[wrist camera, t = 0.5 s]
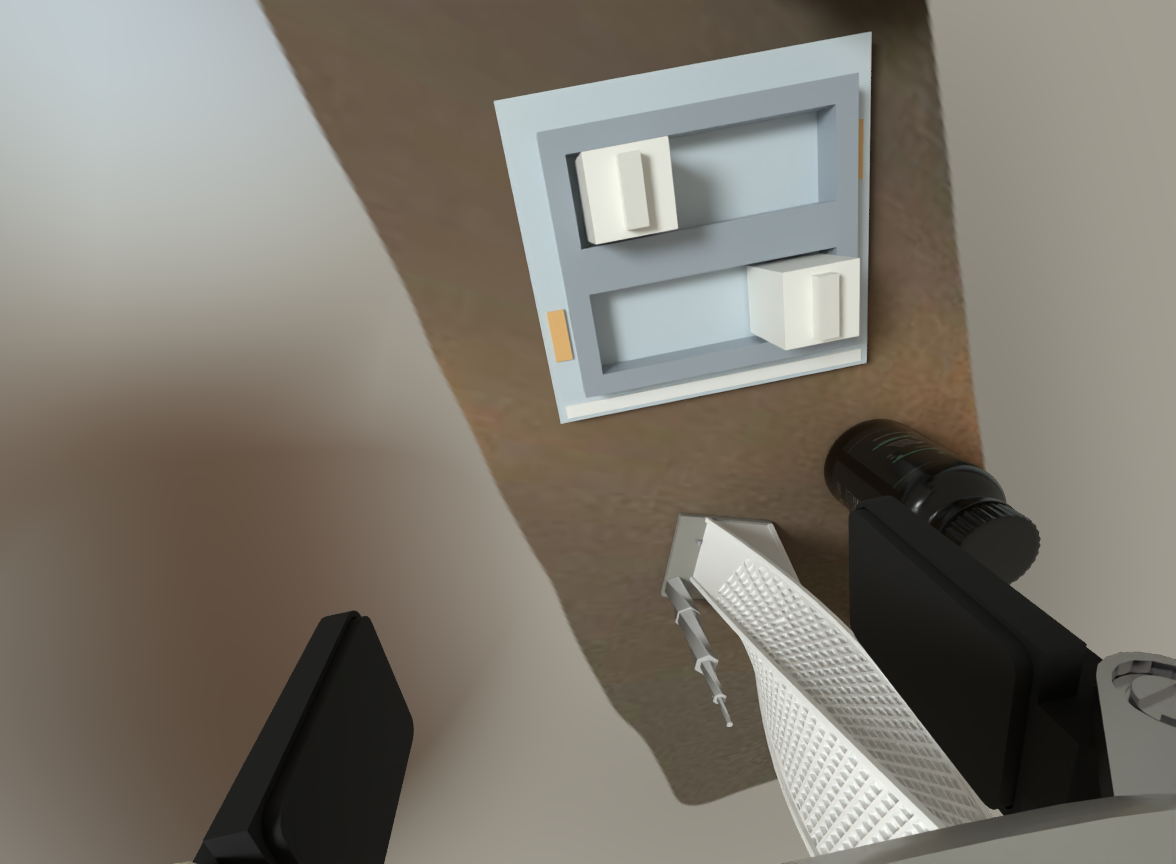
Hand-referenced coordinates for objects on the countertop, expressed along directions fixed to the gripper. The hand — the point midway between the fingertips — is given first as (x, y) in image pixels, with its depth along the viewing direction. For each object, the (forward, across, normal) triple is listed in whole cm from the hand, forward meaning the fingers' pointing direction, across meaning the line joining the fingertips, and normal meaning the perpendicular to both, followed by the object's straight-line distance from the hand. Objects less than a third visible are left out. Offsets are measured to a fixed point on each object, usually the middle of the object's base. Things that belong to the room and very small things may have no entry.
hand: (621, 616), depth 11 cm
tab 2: (+24, -14, -1) cm, 28 cm away
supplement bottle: (+26, -20, +13) cm, 35 cm away
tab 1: (+24, -5, -8) cm, 26 cm away
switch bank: (+26, -9, -4) cm, 28 cm away
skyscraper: (+26, -9, +18) cm, 33 cm away
